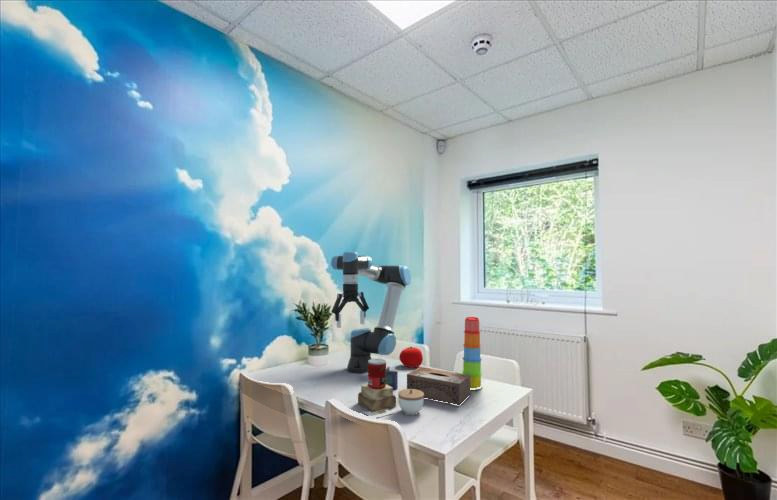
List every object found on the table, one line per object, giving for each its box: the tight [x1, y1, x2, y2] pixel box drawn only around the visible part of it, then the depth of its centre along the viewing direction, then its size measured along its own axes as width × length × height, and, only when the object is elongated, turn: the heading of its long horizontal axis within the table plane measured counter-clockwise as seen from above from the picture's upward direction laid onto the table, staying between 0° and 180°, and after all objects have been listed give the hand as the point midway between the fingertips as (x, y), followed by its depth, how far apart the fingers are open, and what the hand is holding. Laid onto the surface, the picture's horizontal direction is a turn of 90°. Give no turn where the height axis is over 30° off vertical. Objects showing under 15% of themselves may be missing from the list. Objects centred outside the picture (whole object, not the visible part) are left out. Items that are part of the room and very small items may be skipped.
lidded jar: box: [397, 388, 425, 415], centre depth 153 cm, size 11×11×9 cm
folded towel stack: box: [357, 383, 397, 412], centre depth 161 cm, size 12×12×8 cm
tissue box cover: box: [406, 366, 471, 405], centre depth 173 cm, size 26×14×10 cm, turn 59°
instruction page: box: [364, 409, 395, 418], centre depth 152 cm, size 10×7×1 cm
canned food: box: [367, 358, 387, 389], centre depth 161 cm, size 8×8×11 cm
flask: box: [386, 366, 399, 391], centre depth 182 cm, size 9×3×11 cm, turn 74°
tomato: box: [398, 346, 424, 368], centre depth 220 cm, size 12×14×11 cm
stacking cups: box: [461, 316, 483, 388], centre depth 185 cm, size 10×10×35 cm
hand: (350, 325), depth 183 cm, fingers open, 13 cm apart
